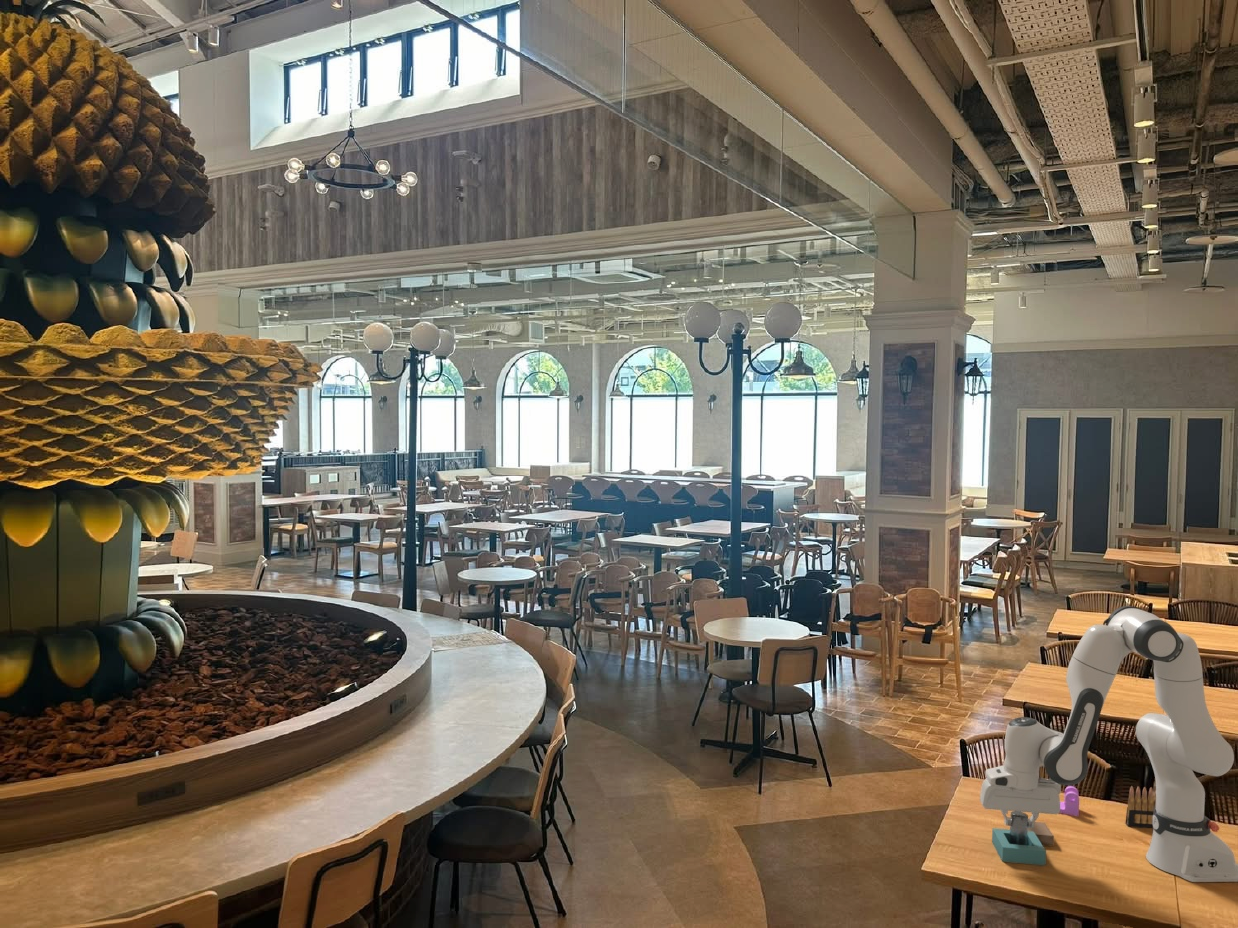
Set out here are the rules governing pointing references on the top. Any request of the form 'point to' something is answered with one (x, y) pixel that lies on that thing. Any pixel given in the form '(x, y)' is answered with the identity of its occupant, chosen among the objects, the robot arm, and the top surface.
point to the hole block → (1018, 848)
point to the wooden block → (1043, 833)
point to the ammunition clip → (1140, 809)
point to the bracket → (1070, 802)
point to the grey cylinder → (1019, 828)
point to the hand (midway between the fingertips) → (1018, 825)
